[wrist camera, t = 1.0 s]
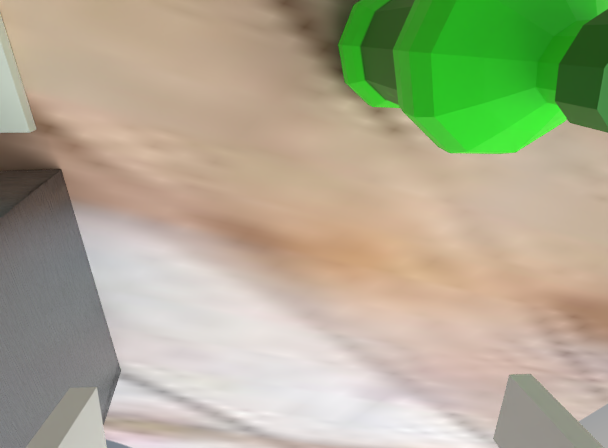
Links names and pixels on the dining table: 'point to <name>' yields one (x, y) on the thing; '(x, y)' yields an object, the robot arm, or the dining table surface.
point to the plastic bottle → (481, 67)
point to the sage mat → (12, 92)
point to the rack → (46, 307)
